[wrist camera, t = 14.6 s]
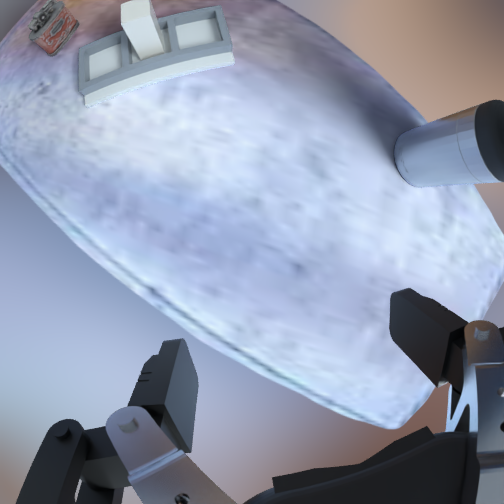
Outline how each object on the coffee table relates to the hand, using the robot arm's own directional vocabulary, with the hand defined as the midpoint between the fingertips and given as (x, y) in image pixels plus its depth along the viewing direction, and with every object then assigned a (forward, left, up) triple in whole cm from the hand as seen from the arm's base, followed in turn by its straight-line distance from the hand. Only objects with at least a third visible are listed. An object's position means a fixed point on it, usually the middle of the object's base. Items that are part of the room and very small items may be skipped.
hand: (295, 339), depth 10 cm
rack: (+7, -32, -27) cm, 42 cm away
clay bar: (+7, -32, -26) cm, 42 cm away
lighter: (+23, -44, -28) cm, 56 cm away
